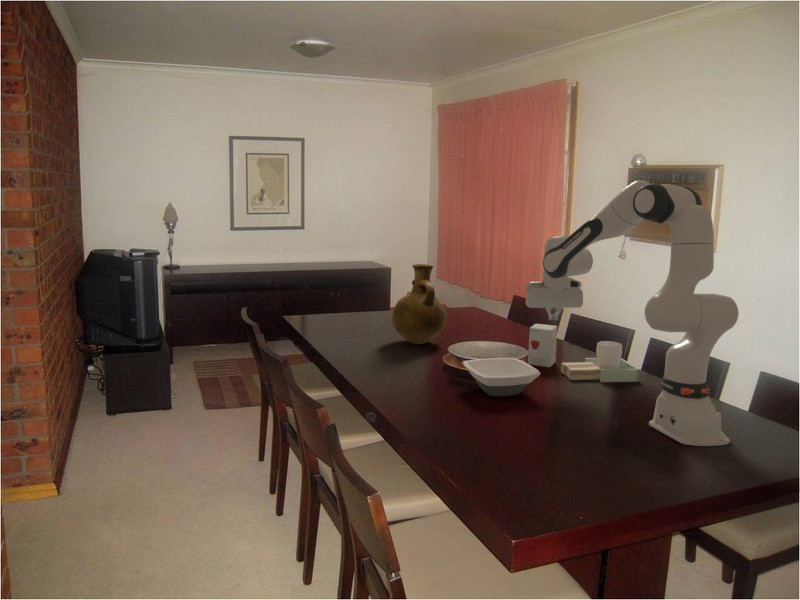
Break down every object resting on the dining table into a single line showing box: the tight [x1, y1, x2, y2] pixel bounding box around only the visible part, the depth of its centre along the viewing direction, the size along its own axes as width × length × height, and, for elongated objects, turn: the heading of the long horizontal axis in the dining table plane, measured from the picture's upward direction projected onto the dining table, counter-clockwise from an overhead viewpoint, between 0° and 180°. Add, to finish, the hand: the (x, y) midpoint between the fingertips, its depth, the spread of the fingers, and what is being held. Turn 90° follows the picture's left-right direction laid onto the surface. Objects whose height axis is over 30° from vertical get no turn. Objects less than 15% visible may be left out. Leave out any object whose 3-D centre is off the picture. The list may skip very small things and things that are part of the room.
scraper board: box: [560, 361, 602, 381], centre depth 232 cm, size 10×12×4 cm
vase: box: [391, 263, 448, 345], centre depth 275 cm, size 24×24×35 cm
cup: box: [595, 340, 623, 369], centre depth 232 cm, size 9×9×12 cm
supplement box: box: [527, 323, 558, 368], centre depth 247 cm, size 9×9×15 cm
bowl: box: [462, 357, 541, 397], centre depth 213 cm, size 22×23×8 cm
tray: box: [584, 357, 641, 383], centre depth 233 cm, size 16×14×4 cm
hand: (553, 319), depth 227 cm, fingers closed
